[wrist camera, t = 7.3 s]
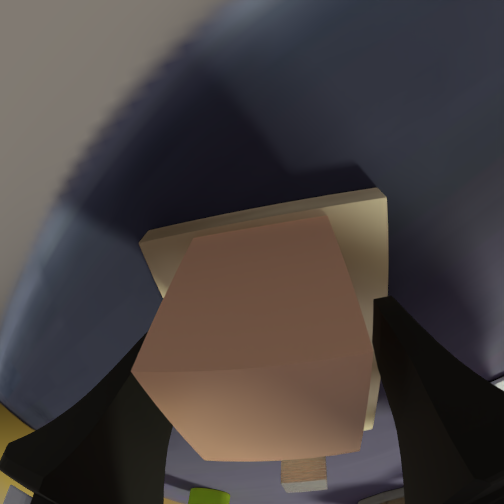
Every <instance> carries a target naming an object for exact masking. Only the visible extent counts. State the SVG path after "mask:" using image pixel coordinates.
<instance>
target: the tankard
mask: <svg viewBox="0 0 504 504" xmlns="http://www.w3.org/2000/svg"><path fill="white" fill-rule="evenodd" d="M358 504H405V498H404V487H403V488H399V489H394V490H390V491H386V492H382V493H380V494H377V495H374V496H371V497H368V498H365V499H362V500H360V501H359V502H358Z"/></svg>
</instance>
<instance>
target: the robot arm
mask: <svg viewBox="0 0 504 504" xmlns="http://www.w3.org/2000/svg"><path fill="white" fill-rule="evenodd" d="M147 333H148V332H147ZM147 333H146V334H145V335H144V336H143V337H142V338H141V339H140V340H139V341H138V342H137V343H136V344H135V345H134V346H133V348H132V349H131V350H130V351H129V352H128V353H127V354H126V355H125V356H124V357H123V358H122V359H121V361H120V362H119V363H118V364H117V365H116V366H115V367H114V368H113V369H112V370H111V371H110V372H109V373H108V374H107V375H106V376H105V377H104V378H103V379H102V380H101V381H100V382H99V383H98V384H97V385H96V386H95V387H94V388H93V389H92V390H91V391H90V392H89V393H88V394H87V395H86V396H84V397H83V398H82V399H81V400H80V401H78V402H77V403H76V404H75V405H74V406H72V407H71V408H70V409H68V410H67V411H66V412H64V413H63V414H61V415H60V416H59V417H57V418H56V419H54V420H53V421H51V422H50V423H48V424H46V425H45V426H43V427H41V428H40V429H38V430H36V431H34V432H32V433H31V434H28V435H26V436H24V437H22V438H20V439H17V440H15V441H13V442H10V443H9V444H8V445H7V447H6V449H5V452H4V453H3V456H2V458H1V460H0V470H1V471H2V472H3V473H5V474H6V475H8V476H9V477H10V478H12V479H13V480H15V481H16V482H18V483H20V484H21V485H23V486H24V487H26V488H27V489H29V490H30V491H32V492H34V495H33V497H31V496H29V495H27V494H26V493H24V492H23V491H21V490H19V489H18V488H16V487H14V486H13V485H10V487H9V490H8V492H7V495H6V498H5V500H4V503H3V504H163V501H164V476H165V465H166V457H167V449H168V443H169V439H170V435H171V431H172V427H173V425H172V424H171V423H170V421H169V420H168V419H167V418H166V417H165V415H164V414H163V413H162V412H161V410H160V409H159V408H158V407H157V406H156V404H155V403H154V402H153V400H152V399H151V398H150V397H149V395H148V394H147V393H146V391H145V390H144V389H143V387H142V386H141V385H140V383H139V382H138V381H137V379H136V378H135V377H134V375H133V374H132V372H131V370H132V367H133V365H134V363H135V360H136V358H137V356H138V353H139V351H140V349H141V347H142V344H143V342H144V340H145V338H146V335H147ZM372 344H373V348H374V353H375V358H376V362H377V367H378V370H379V374H380V377H381V380H382V383H383V386H384V389H385V392H386V395H387V398H388V402H389V405H390V408H391V411H392V415H393V418H394V421H395V425H396V430H397V435H398V441H399V448H400V454H401V463H402V472H403V483H404V498H405V504H504V377H502V378H499V379H497V380H495V381H492V382H488V381H487V380H485V379H484V378H482V377H481V376H479V375H478V374H476V373H475V372H474V371H472V370H471V369H470V368H468V367H467V366H466V365H464V364H463V363H462V362H460V361H459V360H458V359H457V358H455V357H454V356H453V355H452V354H451V353H450V352H448V351H447V350H446V349H445V348H444V347H443V346H442V345H440V344H439V343H438V342H437V341H436V340H435V339H434V338H433V337H432V336H431V335H430V334H429V333H428V332H427V331H426V330H425V329H423V328H422V327H421V326H420V325H419V324H418V323H417V322H416V321H415V320H414V319H413V317H412V316H411V315H410V314H409V313H408V312H407V311H406V310H405V309H404V308H403V307H402V306H401V305H400V304H399V303H398V302H397V301H396V300H395V299H394V298H393V297H392V296H387V297H382V298H376V299H373V334H372Z"/></svg>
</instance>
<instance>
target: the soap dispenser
mask: <svg viewBox="0 0 504 504" xmlns="http://www.w3.org/2000/svg"><path fill="white" fill-rule="evenodd" d="M229 501H230V495H229V494H228V493H226V492H223V491H219V490H214V489H207V488H192V489H191V491H190V496H189V501H188V504H229Z"/></svg>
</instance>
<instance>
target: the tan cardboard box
mask: <svg viewBox="0 0 504 504" xmlns="http://www.w3.org/2000/svg"><path fill="white" fill-rule="evenodd" d="M372 362H373V348H372V345H371V341H370V338H369V334H368V331H367V328H366V325H365V321H364V318H363V315H362V312H361V309H360V305H359V302H358V299H357V296H356V293H355V290H354V287H353V284H352V281H351V278H350V276H349V273H348V270H347V267H346V264H345V261H344V258H343V256H342V253H341V250H340V247H339V245H338V242H337V239H336V237H335V234H334V231H333V229H332V226H331V224H330V221H329V218H328V216H327V215H326V216H320V217H313V218H307V219H301V220H295V221H289V222H283V223H277V224H271V225H265V226H259V227H253V228H247V229H241V230H235V231H230V232H224V233H218V234H213V235H207V236H202V237H196V238H193V239H192V241H191V243H190V245H189V247H188V249H187V251H186V253H185V255H184V257H183V259H182V261H181V263H180V265H179V267H178V269H177V271H176V273H175V276H174V278H173V280H172V282H171V284H170V286H169V288H168V290H167V292H166V294H165V296H164V298H163V301H162V303H161V305H160V307H159V309H158V311H157V313H156V316H155V318H154V320H153V322H152V324H151V326H150V329H149V331H148V333H147V335H146V338H145V340H144V342H143V344H142V347H141V349H140V351H139V353H138V356H137V358H136V360H135V363H134V365H133V367H132V370H131V372H132V374H133V375H134V377H135V378H136V379H137V381H138V382H139V383H140V385H141V386H142V387H143V389H144V390H145V391H146V393H147V394H148V395H149V397H150V398H151V399H152V400H153V402H154V403H155V404H156V406H157V407H158V408H159V409H160V410H161V412H162V413H163V414H164V415H165V417H166V418H167V419H168V420H169V421H170V423H171V424H172V425H173V426H174V427H175V428H176V430H177V431H178V432H179V433H180V434H181V435H182V436H183V438H184V439H185V440H186V441H187V442H188V443H189V444H190V445H191V446H192V447H193V449H194V450H195V451H196V452H197V453H198V454H199V455H200V456H201V457H202V458H203V459H204V460H208V461H278V460H293V459H305V458H315V457H323V456H331V455H338V454H345V453H351V452H357V451H360V447H361V441H362V436H363V430H364V424H365V418H366V411H367V404H368V397H369V389H370V381H371V372H372Z"/></svg>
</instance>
